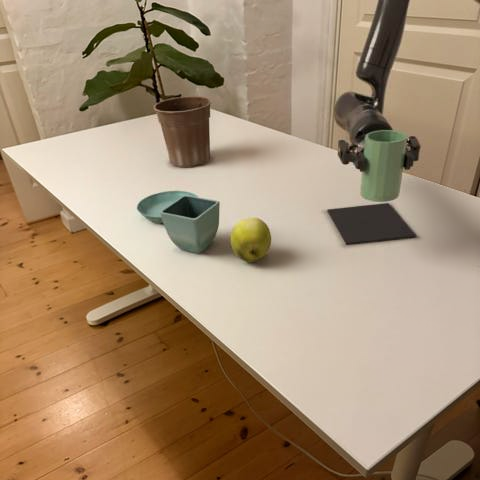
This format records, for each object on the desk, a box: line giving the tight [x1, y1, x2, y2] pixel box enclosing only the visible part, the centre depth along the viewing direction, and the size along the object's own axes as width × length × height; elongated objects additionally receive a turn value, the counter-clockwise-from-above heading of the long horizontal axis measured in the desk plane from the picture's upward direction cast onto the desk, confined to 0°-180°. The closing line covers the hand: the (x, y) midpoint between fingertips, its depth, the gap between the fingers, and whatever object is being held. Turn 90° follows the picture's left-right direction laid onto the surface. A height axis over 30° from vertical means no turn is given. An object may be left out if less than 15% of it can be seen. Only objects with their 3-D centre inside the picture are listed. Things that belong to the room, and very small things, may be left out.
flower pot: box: [160, 195, 221, 254], centre depth 93 cm, size 9×9×9 cm
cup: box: [360, 129, 408, 203], centre depth 79 cm, size 7×7×10 cm
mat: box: [326, 202, 416, 246], centre depth 98 cm, size 14×16×1 cm
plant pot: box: [153, 95, 212, 168], centre depth 134 cm, size 16×16×16 cm
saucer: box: [136, 190, 199, 224], centre depth 109 cm, size 15×15×3 cm
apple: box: [230, 217, 272, 263], centre depth 88 cm, size 8×9×8 cm
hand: (386, 165), depth 76 cm, fingers closed on cup, 6 cm apart
